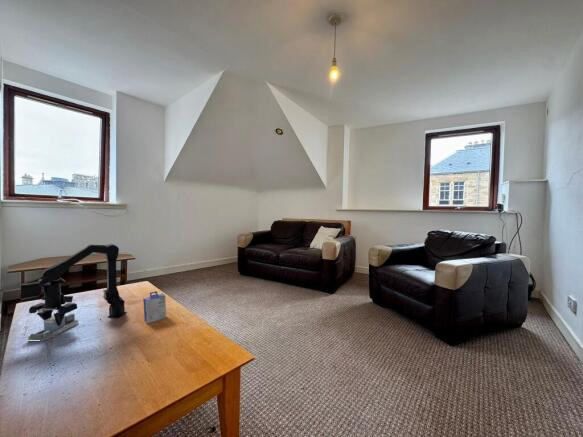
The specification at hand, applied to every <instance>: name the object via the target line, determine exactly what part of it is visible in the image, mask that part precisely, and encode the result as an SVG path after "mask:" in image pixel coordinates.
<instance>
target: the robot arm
mask: <svg viewBox="0 0 583 437" xmlns="http://www.w3.org/2000/svg"><path fill="white" fill-rule="evenodd" d="M119 252H120V248H119V246H117V245H115V244H114V243H108V244H105V245H104V244H92V243H91V244H88V245H87V246H86V247H84V248H82V249H81V250H79V251H77V252H76V253H74V254H73V255H71V256H70V257H67V259H65V260H63V261H61V262H58V263H55V264H53V265H51V266H49V267H47V268H45V269H44V270H43V272H42V276H41V277H40V278H39V279H38V280H37V281H35V282H29V283H21V285H20V301H21V300H26V299H31V298H32V299H33V298H37V297H40V296H41V294H43V297H41V300H42V301H44V302H40V303H38V304H34V305H31V306H30V307H29V309H28V312H29V314H36V315H37V316H39V317H40V318H41V319H42V320H43V321H44V320H46V319H48V318H50V317H53V316H54V317H55V320H56V323H57V325H58V326H60V325H61V323H62V320H63V318H64V315H65V314H70V313H71V312H72V311H75V310H77V309H78V304H77V303H76V302H75V303H74V302H73V299H74V295H64V293H62V291H61V290H62V288H61V284H65V283H66V280H65V279H63V278H62V277H61V276H62V275H64V273H65V272H66V271H67V270H68V269H70V268H71V267H72V266H75V265H76V264H77V263H79V262H81V261H82V260H84V259H85V258H86V257H88V256H90V255H92V254H93V253H94V254H104V256H105V259H106V271H107V272H106V275H107V276H106V277H107V278H106V279H107V281H106V282H107V285H106V286H107V287H106V289H103V296H102V297H103V299H104V300H105V301H106V302H107V304H108V305H109V308H108V314H109V315H108V316H107V318H110V319H111V318H120V317H122V316H124V315H126V314H127V313H128V312H127V311H126V310H125V300H124V299H123V298H122V297H121V296H120V293H119V291H118V290H119V289H118V286H117V260H118V257H119ZM54 311H57V312H56V313H55V312H54ZM53 312H54V313H53ZM52 315H53V316H52Z"/></svg>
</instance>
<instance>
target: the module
mask: <svg viewBox="0 0 583 437" xmlns="http://www.w3.org/2000/svg"><path fill="white" fill-rule="evenodd" d="M64 325H65V317H64V318H63V320H62V323H61V325H60V326H58V325H57V323H56V320H55V317H54V315H53V316H52V317H50V318H48V319H46V320H43V329H44V331H54V330H56V329H58V328H60V327H62V326H64Z"/></svg>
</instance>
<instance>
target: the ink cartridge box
mask: <svg viewBox="0 0 583 437" xmlns="http://www.w3.org/2000/svg"><path fill="white" fill-rule="evenodd" d="M166 300H167V299H166V295H165V294H163V293H160V294H158V291H152V292H149V296H148V297H144V298H143V300H142V301H143V313H144V314H143V315H144V317H143V318H144V322H145V324H149V323H153V322H155V321H156V322H157V321H160V320H162V319H166V318H167V307H166V306H167V304H166V303H167V302H166Z"/></svg>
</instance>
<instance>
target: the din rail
mask: <svg viewBox="0 0 583 437" xmlns="http://www.w3.org/2000/svg"><path fill="white" fill-rule="evenodd" d="M75 316H76V315H75V313H66V314H65V315H64V317H65V325H64V326H62V327H60V328H58V329H56V330H54V331H44V328H43V329H41V330H40V331H37V332H35V333H31V334H30V336H28V337H27V341H28V340H40V341H45V340H47V339H49V338H51V337H53V336H54V337H56V336H58V335H61V334H62V333H63V331H64V332H65V330H66V331H67V330H69V329H71V328H73V327H75V326H76V325H78V324H79V320H78V319H77V318H76V317H75ZM55 335H56V336H55ZM54 337H53V338H54ZM51 339H52V338H51ZM49 340H50V339H49ZM47 341H48V340H47ZM45 342H46V341H45Z"/></svg>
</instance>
